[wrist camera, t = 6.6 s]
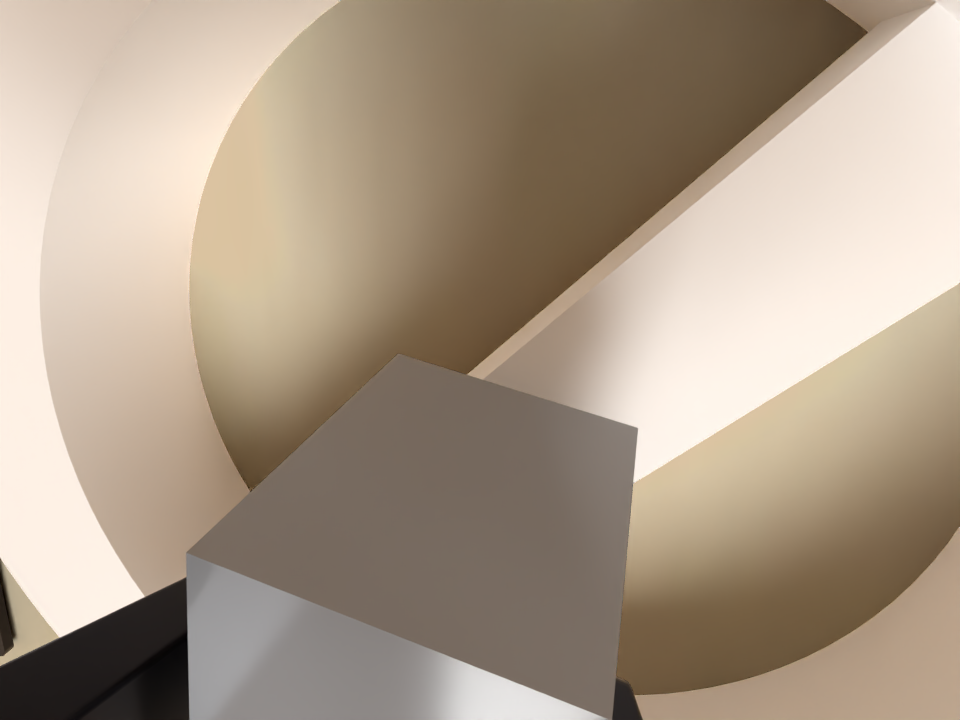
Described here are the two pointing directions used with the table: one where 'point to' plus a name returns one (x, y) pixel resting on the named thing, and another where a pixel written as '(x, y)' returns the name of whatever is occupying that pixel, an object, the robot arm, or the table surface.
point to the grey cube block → (421, 563)
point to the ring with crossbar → (515, 364)
